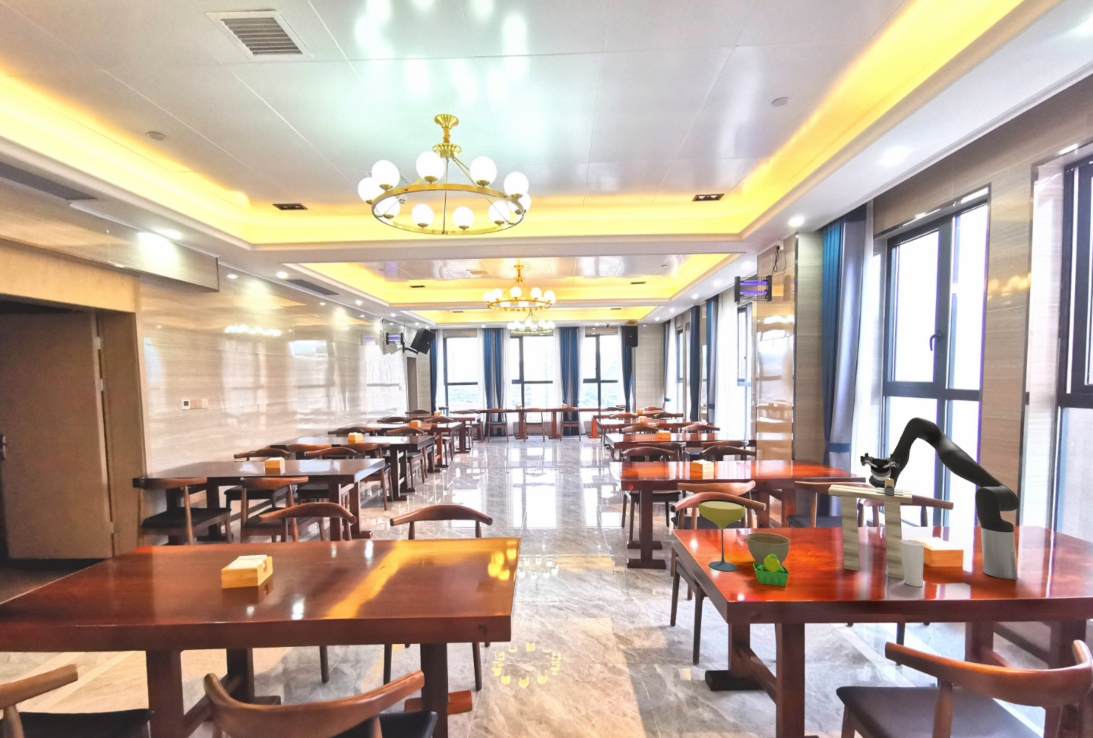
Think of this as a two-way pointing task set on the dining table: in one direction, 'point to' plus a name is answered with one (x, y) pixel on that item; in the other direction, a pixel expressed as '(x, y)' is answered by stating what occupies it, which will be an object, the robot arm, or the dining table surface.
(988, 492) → the robot arm
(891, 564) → the shelf
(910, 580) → the drinking glass
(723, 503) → the cocktail glass
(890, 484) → the crank handle
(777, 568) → the fruit basket
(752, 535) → the planter bowl
